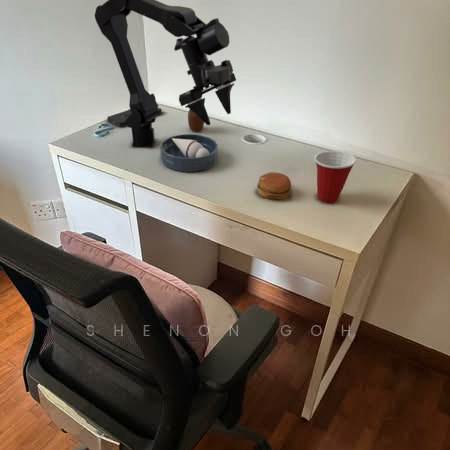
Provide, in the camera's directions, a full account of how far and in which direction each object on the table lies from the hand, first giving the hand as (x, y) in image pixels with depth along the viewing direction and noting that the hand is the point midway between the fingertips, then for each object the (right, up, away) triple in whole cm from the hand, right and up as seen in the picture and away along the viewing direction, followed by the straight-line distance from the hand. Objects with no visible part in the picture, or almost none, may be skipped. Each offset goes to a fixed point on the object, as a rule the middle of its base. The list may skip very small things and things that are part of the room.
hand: (219, 119), depth 121 cm
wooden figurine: (-9, +9, +30) cm, 32 cm away
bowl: (-10, -7, +12) cm, 17 cm away
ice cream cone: (-10, -7, +12) cm, 17 cm away
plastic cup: (+30, -23, -2) cm, 38 cm away
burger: (+15, -22, -1) cm, 27 cm away
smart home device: (-32, +16, +37) cm, 52 cm away
